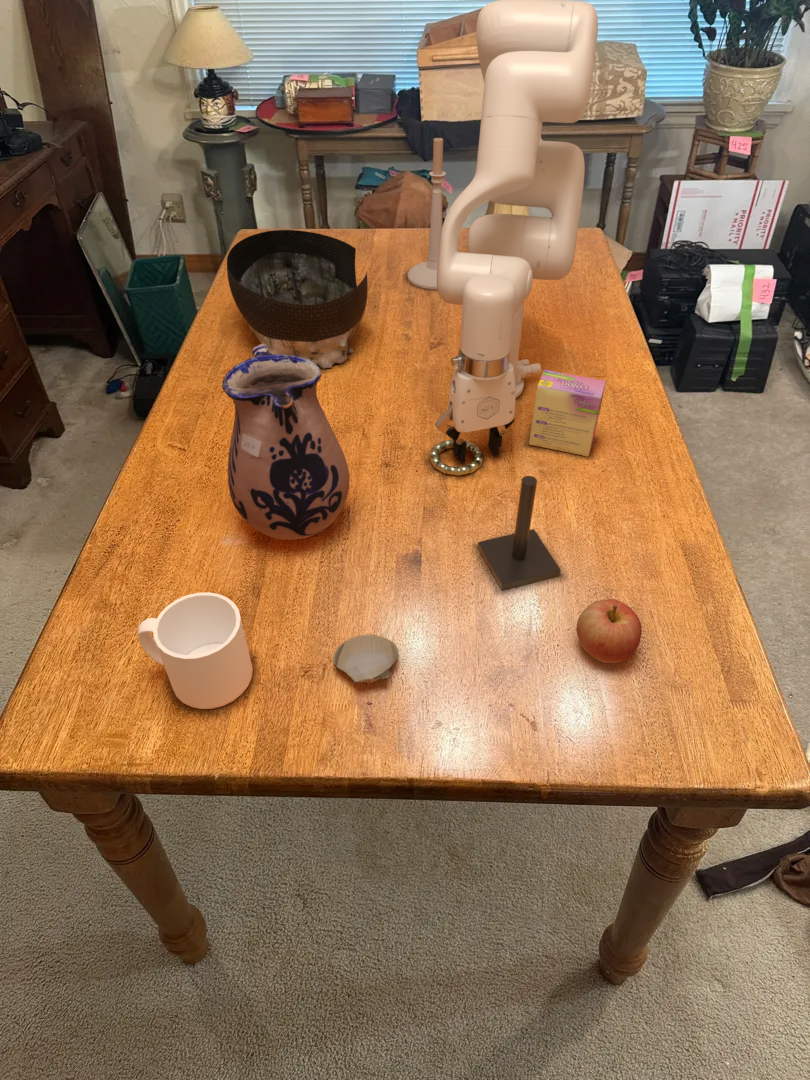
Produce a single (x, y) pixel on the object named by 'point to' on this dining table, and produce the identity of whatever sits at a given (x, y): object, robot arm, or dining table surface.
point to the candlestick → (432, 226)
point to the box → (566, 412)
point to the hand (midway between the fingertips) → (476, 453)
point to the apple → (609, 631)
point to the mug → (200, 649)
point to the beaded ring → (452, 469)
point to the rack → (520, 548)
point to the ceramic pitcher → (283, 448)
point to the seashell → (366, 657)
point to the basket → (298, 293)
